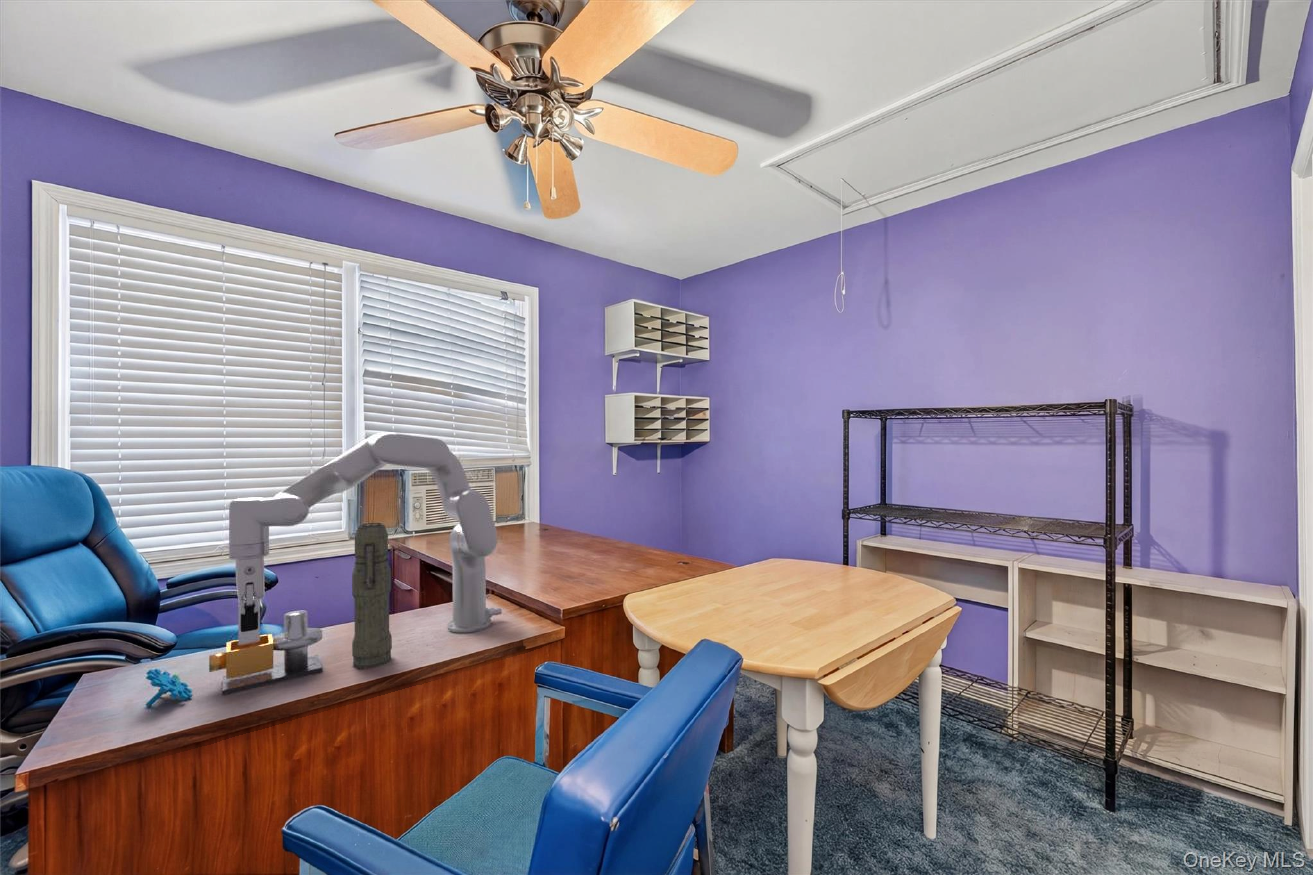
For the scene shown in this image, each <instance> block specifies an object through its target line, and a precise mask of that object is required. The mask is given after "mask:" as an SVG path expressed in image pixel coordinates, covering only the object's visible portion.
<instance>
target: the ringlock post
mask: <svg viewBox="0 0 1313 875" xmlns="http://www.w3.org/2000/svg"><path fill="white" fill-rule="evenodd" d="M308 615H309V614H308V611H307V610H301V609H300V610H294V611H289V612H286V613H284V615H283V632H281V633H278V634H275V635H273V634H272V633H270V634H262V635H261V634H260V642H256V643H250V644H245V645H240V646H238V639H236V640H231V641H228V642H227V641H226V649H225V650H226V651H225V652H221V653H216V654H211V655H208V656H209V658H208V659H209V663H208V667H209V668H208V669H209V671H208V672H209V673H211V672H216V671H217V672H218V671H222V670H225V674H224V675H222V688H221V690H222V691H221V692H222V693H221V695H222V696H225V695H230V694H233V693H238V692H242V691H246V690H250V689H254V688H258V687H263V686H267V685H271V684H277V683H280V682H284V681H288V680H292V679H296V678H300V677H304V676H305V677H306V676H308V675H309V674H310V675H314V674H319V673H322V672H323V671H324V670H323V669H324V668H323V665H322V662H321V660H320V658H319V655H318V654H317V655H316V654H315V655H311V656H309V650H308V649H309V648H308V647H310V646H311V645H314V644H316V643H318V642H320V641H321V640H322V639H323V630H322V629H321V628H319V627H318V628H315V627H308V626H309V625H308V624H309V622H308V619H309V618H308ZM274 651H278V652H279V651H280V652H282V651H284V652H283V654H284V655H283V660H284V661H283V662H280V663H274Z"/></svg>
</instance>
